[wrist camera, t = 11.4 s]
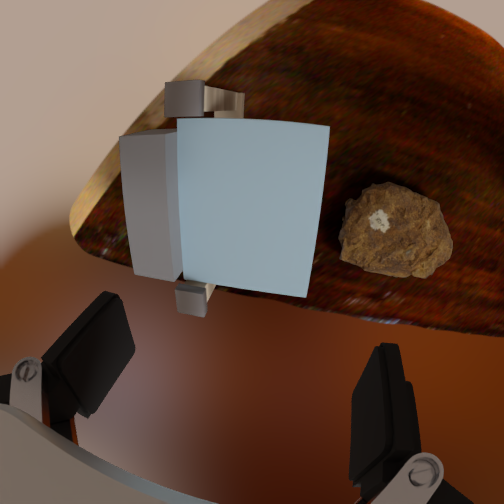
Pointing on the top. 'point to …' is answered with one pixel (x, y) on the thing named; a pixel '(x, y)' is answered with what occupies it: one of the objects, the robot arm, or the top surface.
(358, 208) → the decorative rock
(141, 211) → the trapdoor
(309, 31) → the top surface
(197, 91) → the trapdoor stand
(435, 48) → the top surface
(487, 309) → the top surface
